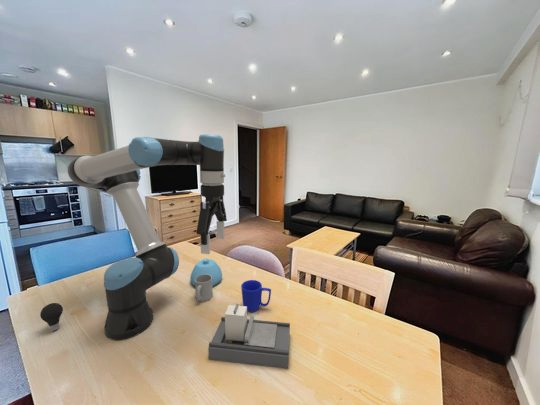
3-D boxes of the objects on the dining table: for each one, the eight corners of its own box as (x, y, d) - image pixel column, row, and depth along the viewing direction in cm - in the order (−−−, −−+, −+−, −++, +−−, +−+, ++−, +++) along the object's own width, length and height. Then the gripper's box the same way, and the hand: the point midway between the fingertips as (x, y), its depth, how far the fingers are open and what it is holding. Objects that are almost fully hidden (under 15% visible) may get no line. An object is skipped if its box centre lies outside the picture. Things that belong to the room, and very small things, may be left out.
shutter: (244, 346, 68) (244, 336, 67) (250, 324, 77) (250, 315, 76) (274, 350, 67) (274, 339, 66) (277, 326, 76) (277, 317, 75)
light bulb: (41, 338, 75) (35, 311, 73) (47, 327, 80) (42, 302, 78) (63, 332, 78) (58, 306, 76) (68, 322, 83) (63, 297, 81)
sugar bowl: (228, 279, 114) (227, 257, 111) (204, 293, 101) (203, 269, 99) (208, 271, 122) (207, 250, 120) (184, 283, 110) (182, 261, 107)
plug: (225, 343, 71) (224, 311, 69) (229, 333, 76) (229, 302, 74) (244, 345, 71) (243, 313, 69) (247, 334, 75) (246, 303, 73)
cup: (215, 293, 102) (214, 274, 100) (205, 307, 92) (205, 287, 90) (200, 291, 103) (199, 273, 101) (189, 305, 93) (188, 285, 91)
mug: (268, 316, 87) (268, 293, 85) (238, 312, 89) (238, 289, 87) (272, 303, 95) (272, 282, 93) (245, 300, 97) (244, 278, 95)
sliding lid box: (208, 359, 68) (208, 345, 67) (222, 328, 81) (222, 315, 80) (288, 368, 65) (288, 354, 64) (289, 334, 78) (289, 322, 77)
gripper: (207, 189, 61) (209, 262, 65) (234, 180, 85) (234, 234, 89) (181, 188, 62) (185, 260, 66) (215, 179, 86) (216, 232, 90)
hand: (213, 245), depth 78 cm, fingers open, 13 cm apart
